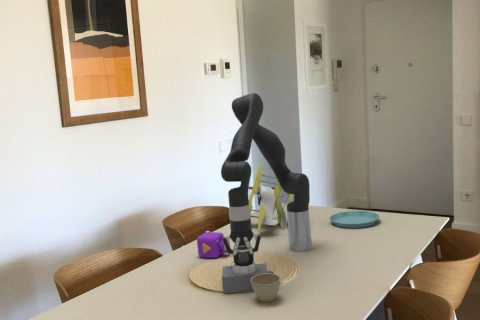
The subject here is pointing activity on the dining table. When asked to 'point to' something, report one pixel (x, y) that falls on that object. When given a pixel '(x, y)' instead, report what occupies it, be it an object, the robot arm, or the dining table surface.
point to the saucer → (354, 219)
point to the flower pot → (266, 286)
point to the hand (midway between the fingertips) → (243, 263)
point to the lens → (243, 256)
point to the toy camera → (211, 245)
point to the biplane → (268, 201)
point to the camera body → (240, 277)
